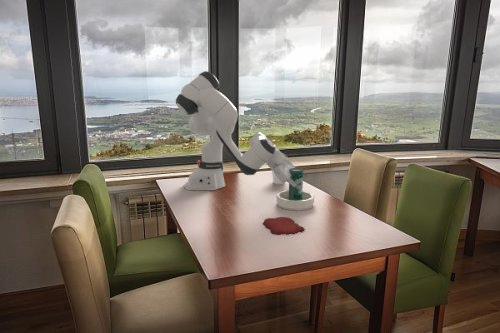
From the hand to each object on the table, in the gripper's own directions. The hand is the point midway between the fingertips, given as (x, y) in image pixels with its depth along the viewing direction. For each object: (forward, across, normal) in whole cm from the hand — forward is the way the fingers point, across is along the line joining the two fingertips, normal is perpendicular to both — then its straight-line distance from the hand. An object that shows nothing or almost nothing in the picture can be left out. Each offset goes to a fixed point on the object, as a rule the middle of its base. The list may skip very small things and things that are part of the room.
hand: (296, 183), depth 175 cm
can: (+6, 0, +6) cm, 9 cm away
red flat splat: (+7, -28, +8) cm, 30 cm away
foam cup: (-4, +35, +19) cm, 40 cm away
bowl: (+7, 0, +8) cm, 10 cm away
